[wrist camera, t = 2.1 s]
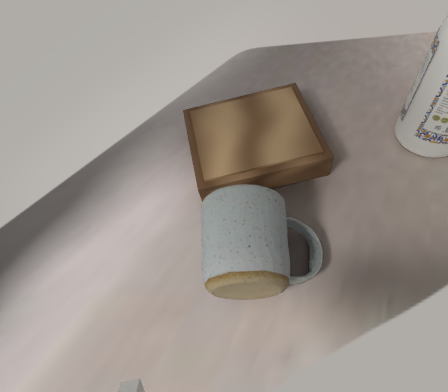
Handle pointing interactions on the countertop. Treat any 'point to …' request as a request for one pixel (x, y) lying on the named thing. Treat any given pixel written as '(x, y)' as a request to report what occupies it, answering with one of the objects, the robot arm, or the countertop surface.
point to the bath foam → (428, 104)
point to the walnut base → (256, 141)
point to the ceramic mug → (250, 243)
